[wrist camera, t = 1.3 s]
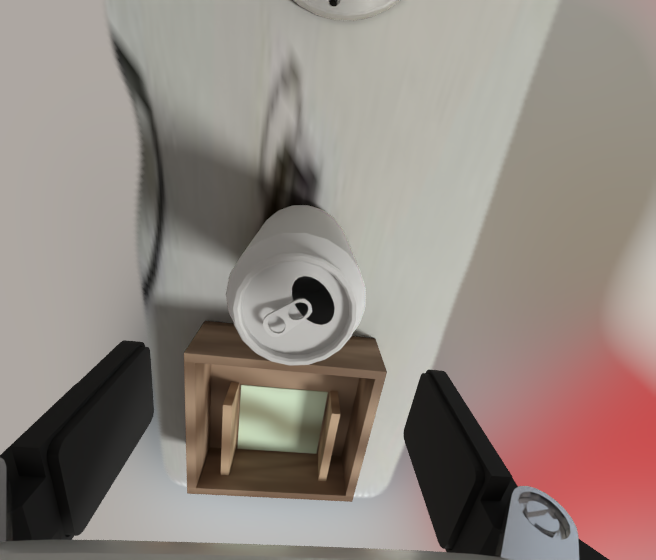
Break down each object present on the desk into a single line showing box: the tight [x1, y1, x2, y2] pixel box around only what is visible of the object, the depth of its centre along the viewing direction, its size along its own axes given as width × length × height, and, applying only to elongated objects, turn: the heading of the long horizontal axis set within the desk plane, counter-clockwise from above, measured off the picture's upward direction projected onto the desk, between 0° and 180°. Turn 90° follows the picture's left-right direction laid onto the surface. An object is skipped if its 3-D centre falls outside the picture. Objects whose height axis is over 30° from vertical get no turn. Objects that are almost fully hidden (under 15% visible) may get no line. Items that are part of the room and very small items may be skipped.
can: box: [226, 205, 366, 365], centre depth 20 cm, size 8×8×12 cm
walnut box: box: [184, 321, 387, 502], centre depth 29 cm, size 16×16×5 cm
